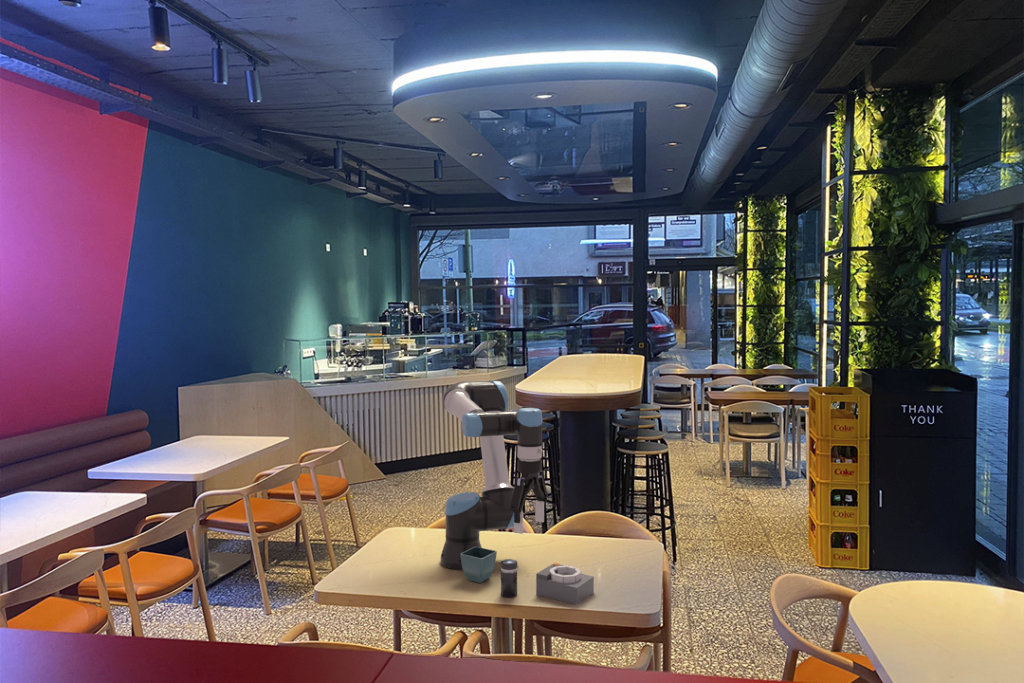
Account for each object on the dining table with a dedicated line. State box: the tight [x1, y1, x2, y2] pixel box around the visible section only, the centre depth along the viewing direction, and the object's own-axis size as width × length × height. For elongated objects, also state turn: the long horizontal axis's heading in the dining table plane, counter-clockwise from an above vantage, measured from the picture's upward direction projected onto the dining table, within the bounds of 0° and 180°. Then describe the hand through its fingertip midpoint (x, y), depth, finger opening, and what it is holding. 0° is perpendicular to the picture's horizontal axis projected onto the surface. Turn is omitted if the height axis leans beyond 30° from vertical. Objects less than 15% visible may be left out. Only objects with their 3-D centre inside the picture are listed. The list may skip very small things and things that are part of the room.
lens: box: [500, 558, 519, 599], centre depth 217 cm, size 5×5×10 cm
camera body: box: [535, 562, 595, 606], centre depth 218 cm, size 14×11×7 cm
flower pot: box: [460, 546, 497, 583], centre depth 229 cm, size 9×9×9 cm
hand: (529, 527), depth 219 cm, fingers open, 13 cm apart
